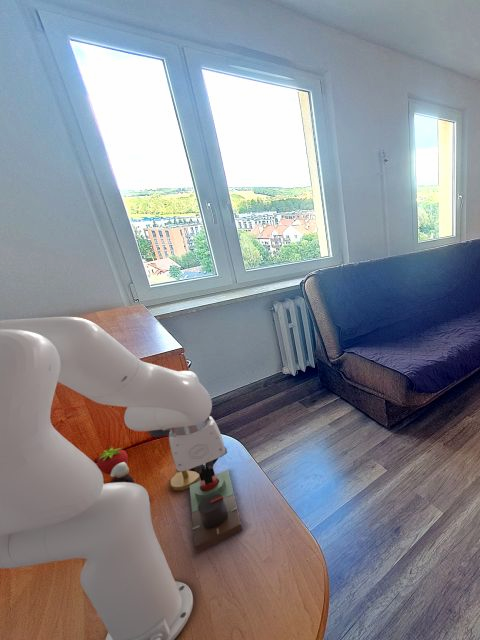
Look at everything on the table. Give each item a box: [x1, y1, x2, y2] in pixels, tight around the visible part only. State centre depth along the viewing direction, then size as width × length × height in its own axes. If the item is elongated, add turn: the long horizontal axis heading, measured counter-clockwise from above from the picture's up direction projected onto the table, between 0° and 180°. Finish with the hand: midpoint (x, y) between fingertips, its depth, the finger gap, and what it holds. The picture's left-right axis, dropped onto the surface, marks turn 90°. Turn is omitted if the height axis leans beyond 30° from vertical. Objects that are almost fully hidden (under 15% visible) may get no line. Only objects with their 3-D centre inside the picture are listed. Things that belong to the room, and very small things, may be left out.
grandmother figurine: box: [109, 462, 136, 483], centre depth 81 cm, size 8×4×13 cm, turn 84°
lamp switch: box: [200, 476, 218, 491], centre depth 85 cm, size 4×4×2 cm
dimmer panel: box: [190, 494, 244, 554], centre depth 78 cm, size 10×9×2 cm
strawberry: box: [96, 445, 129, 476], centre depth 90 cm, size 6×8×10 cm
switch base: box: [189, 469, 236, 514], centre depth 86 cm, size 10×9×3 cm
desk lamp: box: [147, 429, 201, 491], centre depth 86 cm, size 8×8×24 cm
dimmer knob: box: [198, 494, 228, 528], centre depth 77 cm, size 5×5×5 cm
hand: (208, 479), depth 85 cm, fingers closed
